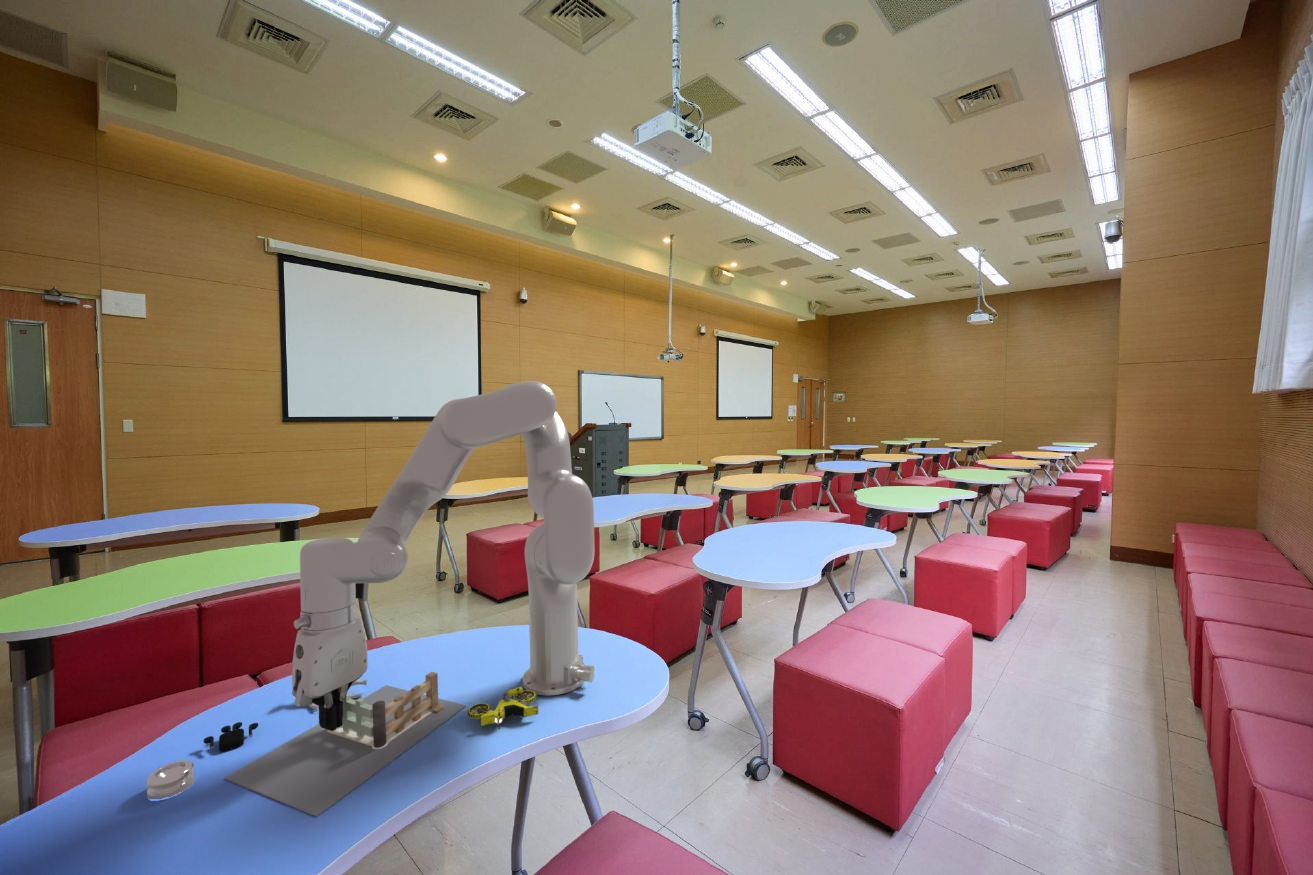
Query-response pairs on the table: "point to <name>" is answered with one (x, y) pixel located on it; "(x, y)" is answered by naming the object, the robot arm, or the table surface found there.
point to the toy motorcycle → (506, 707)
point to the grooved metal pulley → (170, 779)
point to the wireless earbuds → (231, 737)
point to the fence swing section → (357, 716)
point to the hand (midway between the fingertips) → (331, 726)
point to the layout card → (334, 758)
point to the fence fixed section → (397, 708)
